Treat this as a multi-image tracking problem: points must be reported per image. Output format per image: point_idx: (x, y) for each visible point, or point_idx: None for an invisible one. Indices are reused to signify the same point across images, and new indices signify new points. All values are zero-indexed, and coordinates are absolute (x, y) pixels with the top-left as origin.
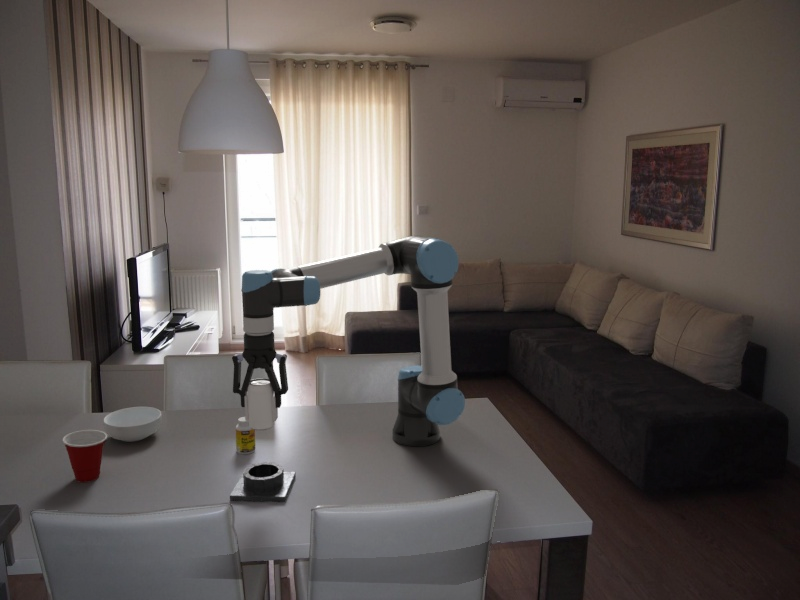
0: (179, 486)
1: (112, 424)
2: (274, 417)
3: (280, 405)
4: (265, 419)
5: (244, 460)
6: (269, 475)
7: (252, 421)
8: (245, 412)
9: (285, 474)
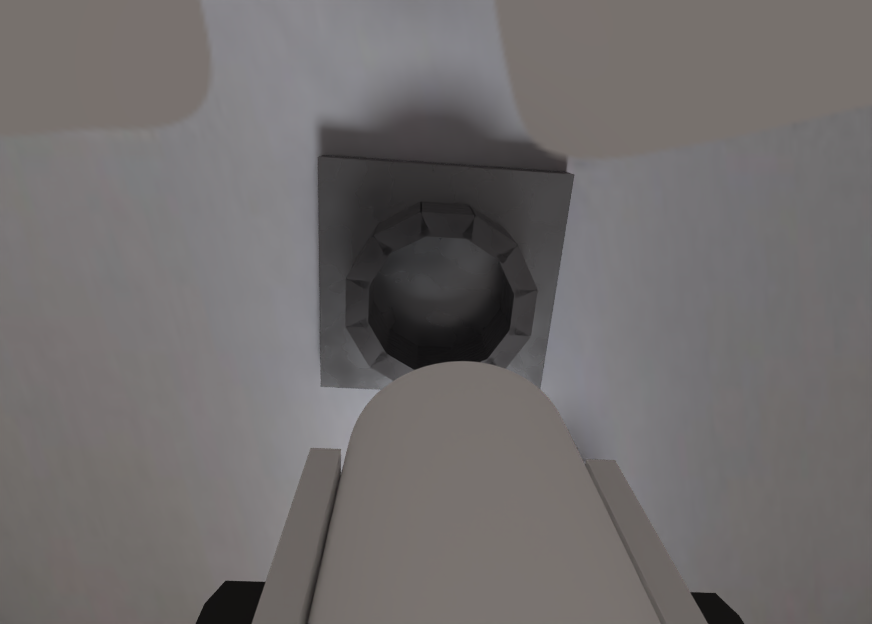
0: (787, 303)
1: None
2: (313, 474)
3: (206, 617)
4: (400, 423)
5: None
6: (424, 347)
7: (541, 415)
8: (645, 524)
9: (358, 363)
